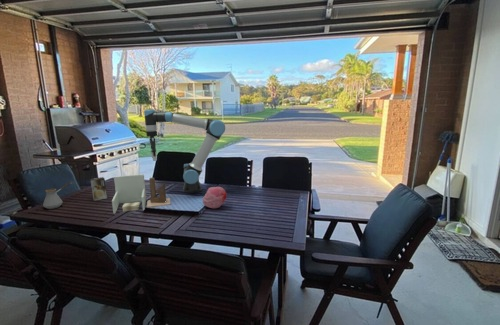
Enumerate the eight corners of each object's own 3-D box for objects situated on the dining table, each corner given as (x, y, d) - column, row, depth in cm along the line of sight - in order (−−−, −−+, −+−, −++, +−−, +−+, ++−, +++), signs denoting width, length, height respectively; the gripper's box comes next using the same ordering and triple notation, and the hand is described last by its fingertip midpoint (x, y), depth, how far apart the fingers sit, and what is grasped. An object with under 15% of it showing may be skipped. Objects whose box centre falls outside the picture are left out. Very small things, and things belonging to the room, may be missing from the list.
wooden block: (164, 202, 196) (162, 178, 193) (150, 202, 197) (148, 178, 194) (166, 201, 200) (164, 177, 196) (152, 200, 201) (150, 177, 197)
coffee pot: (50, 211, 186) (47, 190, 183) (39, 208, 190) (36, 188, 187) (79, 201, 205) (76, 181, 202) (69, 199, 210) (66, 180, 207)
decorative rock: (233, 197, 192) (222, 179, 193) (229, 201, 179) (216, 182, 179) (212, 210, 196) (201, 193, 196) (206, 216, 182) (194, 197, 182)
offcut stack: (140, 206, 193) (140, 201, 192) (139, 210, 186) (139, 205, 185) (124, 208, 190) (123, 203, 189) (122, 212, 183) (121, 207, 182)
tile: (169, 198, 208) (169, 197, 207) (170, 204, 195) (170, 203, 194) (147, 201, 203) (147, 200, 202) (146, 207, 190) (146, 206, 189)
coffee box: (106, 196, 215) (103, 176, 212) (107, 198, 210) (105, 178, 207) (93, 198, 210) (90, 178, 207) (94, 200, 205) (91, 180, 202)
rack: (146, 199, 206) (143, 174, 202) (145, 209, 186) (142, 181, 182) (117, 203, 200) (114, 176, 196) (112, 213, 179) (109, 184, 175)
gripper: (145, 129, 209) (148, 156, 213) (146, 132, 186) (149, 162, 191) (155, 129, 212) (158, 156, 216) (158, 131, 189) (161, 161, 193)
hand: (154, 159), depth 203 cm, fingers open, 13 cm apart
